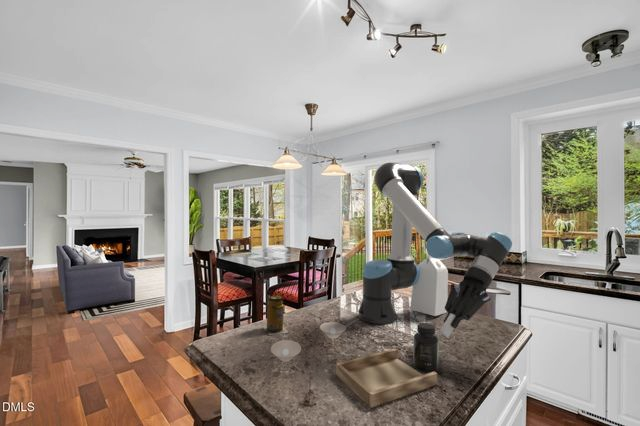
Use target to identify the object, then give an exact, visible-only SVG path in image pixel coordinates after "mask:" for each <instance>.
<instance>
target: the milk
mask: <svg viewBox="0 0 640 426" xmlns="http://www.w3.org/2000/svg"><path fill="white" fill-rule="evenodd" d="M416 265H417V267H418V268H419V278H418V281H417V282H416V283H415V284H414V285H413V286H412V290H411V291H412V292H411V298H410V307H409V309H410V310H411V311H414V312H419V313H421V314H427V315H430V316H434V317H437V316H440V315H442V314H443V315H444V314H446V313H448V312H447V311H446V310H445V305H446V303H447V300H448V297H449V289H448V288H449V271H448V268H447V267H446V265H445V264H444V263H443V262H442V261H441V260H440V259H436V258H433V257H431V256H430V255H429V254H428V253H426V258H425V259H424V260H422V261H421V262H419V264H416Z"/></svg>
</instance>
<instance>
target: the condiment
mask: <svg viewBox="0 0 640 426" xmlns="http://www.w3.org/2000/svg"><path fill="white" fill-rule="evenodd" d="M283 303H284V301H283V297H282V296H280V295H271V296H269V297H268V303H267V305H266V308H267V309H266V326H262V328H263V329H264V331H265V333H267V334H268V335H269V336H274V335H282V334H286V333H287V334H288V333H289V331H288V330H287V329H286V328H285V327H284V310H285V309H284V304H283Z"/></svg>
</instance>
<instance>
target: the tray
mask: <svg viewBox="0 0 640 426" xmlns="http://www.w3.org/2000/svg"><path fill="white" fill-rule="evenodd" d="M398 351H399V350H398V348H392V349H387V350H384V351H380V352H376V353H372V354H369V355H364V356H359V357H356V358H353V359H349V360H345V361H341V362H337V363H336V364H335V368H336V369H335V375H336V376H337V378H338V379H339V380H341V382H342V383H344V384H345V385H346V386H347V387H348V388H349V389H350V390H352V392H353V393H354V394H355V395H357V397H359V398H360V399H361V400H362V402H364V403H365V404H366V405H367V406H369V405H370V406H369V407H370V408H376V407H378V406H381V405H384V404H386V402H387V403H389V402H392V401H394V400H397V399H400V398H403V397H406V396H409V395H411V394H414V393H418V392H420V391H424V390H427V389H429V388H432V387H435V386H437V385H438V372H436V371H435V372H431V373H426V374H423V373H421V372H420V371H419V370H417V369H414V368H413V367H412V366H409V365H408V364H406V363H405V362H403V361H402V360H400V359H399V358H398V356H399V354H398ZM383 403H384V404H383ZM380 404H381V405H380ZM377 405H378V406H377Z"/></svg>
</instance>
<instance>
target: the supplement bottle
mask: <svg viewBox="0 0 640 426" xmlns="http://www.w3.org/2000/svg"><path fill="white" fill-rule="evenodd" d="M439 341H440V340H439V338H438V336H437V335H436V327H435V325H434V324H431V323H428V322H427V323H426V322H420V323H418V324H417V332H416V333H415V334H414V335H413V347H412V349H413V351H412V353H413V354H412V356H413V357H412V359H413V360H412V361H413V362H412V364H413V367H414V368H415V370H417V371H419V372H423V373H426V374H428V373H431V372H436V371H438V369H439V347H440V346H439V345H440V343H439Z"/></svg>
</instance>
